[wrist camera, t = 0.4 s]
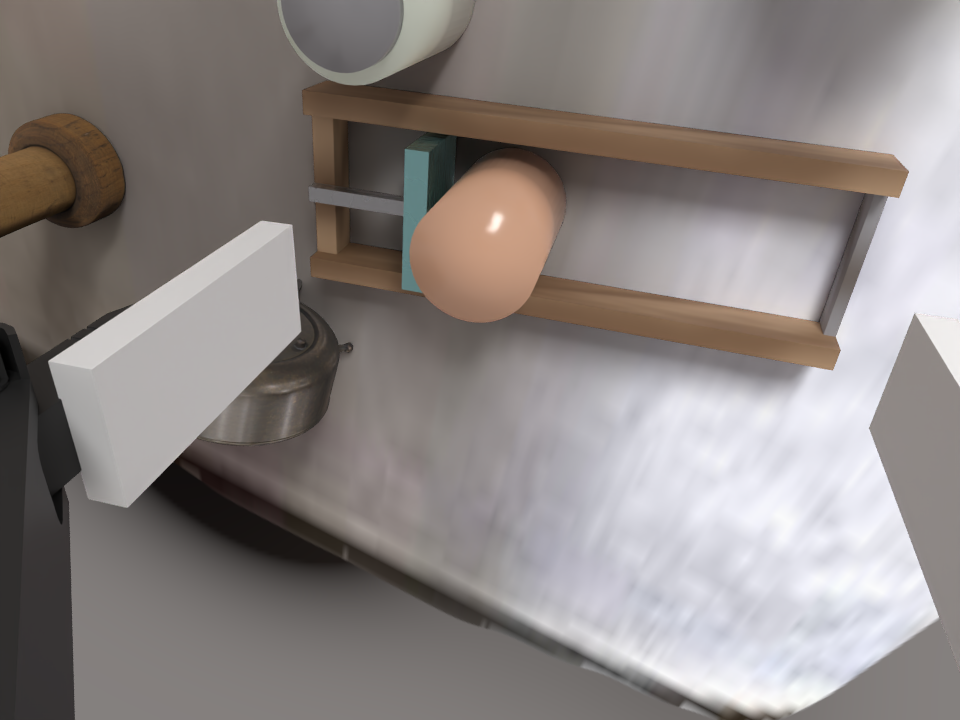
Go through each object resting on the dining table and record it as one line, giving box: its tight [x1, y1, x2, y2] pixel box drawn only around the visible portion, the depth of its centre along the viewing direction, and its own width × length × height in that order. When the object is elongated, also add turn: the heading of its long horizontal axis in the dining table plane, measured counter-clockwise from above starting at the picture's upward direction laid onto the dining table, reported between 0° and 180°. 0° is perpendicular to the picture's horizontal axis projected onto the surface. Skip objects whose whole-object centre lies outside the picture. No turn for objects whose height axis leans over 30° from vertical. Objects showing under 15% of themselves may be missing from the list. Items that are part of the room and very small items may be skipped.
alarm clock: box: [197, 279, 353, 446], centre depth 41 cm, size 11×5×16 cm, turn 72°
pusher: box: [309, 132, 457, 293], centre depth 39 cm, size 7×7×5 cm
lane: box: [302, 81, 909, 370], centre depth 39 cm, size 10×29×3 cm, turn 85°
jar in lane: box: [409, 148, 566, 323], centre depth 37 cm, size 6×6×9 cm
